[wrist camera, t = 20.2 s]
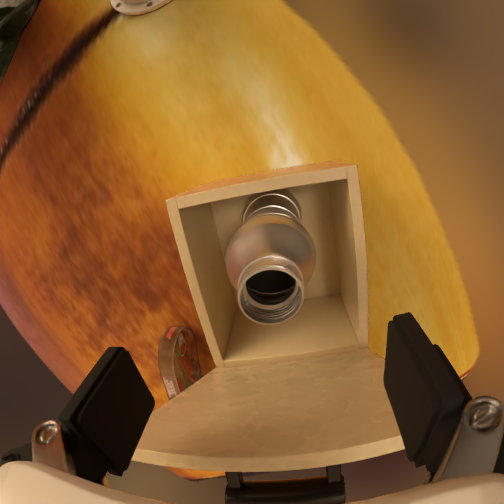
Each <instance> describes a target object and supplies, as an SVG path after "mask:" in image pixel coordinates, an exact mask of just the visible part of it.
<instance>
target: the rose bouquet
mask: <svg viewBox="0 0 504 504" xmlns="http://www.w3.org/2000/svg"><path fill="white" fill-rule="evenodd" d="M37 2H38V0H0V83H1V80H2V78H3V76H4V74H5V71H6V69H7V67H8V65H9V62H10V61H11V58H12V55H13V53H14V50H15V48H16V46H17V43H18V42H19V40H18V39H19V37H20V34H21V32H22V30H23V29H24V27H25V26H26V24H27V23H28V21H29V19H30V18H31V16H32V14H33V12H34V10H35V8H36V6H37Z"/></svg>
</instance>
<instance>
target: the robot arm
mask: <svg viewBox="0 0 504 504" xmlns="http://www.w3.org/2000/svg"><path fill="white" fill-rule="evenodd" d="M170 1H171V0H110V3H111V5H112V7H113V8H114V9H115V10H117V11H118V12H120V13H122V14H125V15H140V14H144V13H148V12H150V11H153V10H156V9H158V8H160V7H162V6H163V5H165V4H167V3H168V2H170ZM383 382H384V387H385V390H386V393H387V396H388V398H389V401H390V404H391V407H392V410H393V413H394V416H395V419H396V422H397V425H398V428H399V431H400V434H401V437H402V440H403V444H404V447H405V450H406V453H407V457H408V459H409V461H414V462H415V466H416V468H417V467H420V466H422V465H426V468H427V471H429V472H430V473H429V475H428V477H427V479H426V480H425V482H424V484H423V485H422V486H418V487H415V488H411V489H407V490H404V491H400V492H396V493H392V494H389V495H384V496H380V497H376V498H372V499H367V500H362V501H357V502H351V503H345V504H504V405H503V404H502V403H501V402H500V401H499V400H498V399H496V398H494V397H491V396H480V397H476V398H474V399H472V397H471V396H470V394H469V392H468V391H467V389H466V388H465V386H464V384H463V382H462V381H461V379H460V378H459V376H458V374H457V373H456V371H455V370H454V368H453V366H452V365H451V363H450V362H449V360H448V359H447V357H446V356H445V354H444V353H443V351H442V350H441V348H440V347H439V346H438V345H436V344H434V345H433V344H432V343H431V341H430V340H429V338H428V337H427V335H426V334H425V332H424V331H423V330H422V328H421V327H420V325H419V324H418V322H417V321H416V319H415V318H414V317H413V315H412V314H411V313H410V312H408V313H404V314H400V315H395V316H394V317H393V321H389V323H388V334H387V347H386V358H385V368H384V376H383ZM154 406H155V400H154V398H153V396H152V394H151V392H150V391H149V389H148V387H147V385H146V384H145V382H144V380H143V378H142V376H141V375H140V373H139V371H138V369H137V367H136V365H135V363H134V361H133V359H132V357H131V355H130V353H129V352H128V351H126V350H125V348H123V347H109V348H108V349H107V350H106V351H105V352H104V354H103V355H102V356H101V358H100V359H99V360H98V362H97V363H96V364H95V366H94V367H93V368H92V370H91V371H90V373H89V374H88V375H87V377H86V378H85V379H84V381H83V382H82V384H81V385H80V386H79V388H78V389H77V390H76V392H75V393H74V395H73V396H72V398H71V399H70V400H69V402H68V403H67V405H66V406H65V408H64V409H63V410H62V412H61V413H60V415H59V416H58V418H59V420H60V421H61V422H62V425H61V426H60V425H59V424H58V423H57V422H56V421H54V420H47V421H44V422H42V423H40V424H39V425H38V426H37V427H36V428H35V429H34V431H33V434H32V442H30V443H28V444H25V445H23V446H20V447H17V448H15V449H12V450H10V451H8V452H6V453H4V454H3V456H2V458H1V461H0V504H175V503H169V502H164V501H159V500H154V499H150V498H145V497H141V496H137V495H133V494H129V493H126V492H122V491H119V490H115V489H112V488H110V485H109V482H108V479H107V476H106V472H107V471H108V472H109V473H110V474H113V475H117V476H122V474H123V472H124V471H125V470H127V468H128V466H129V464H130V461H131V459H132V457H133V454H134V452H135V450H136V447H137V445H138V443H139V440H140V438H141V436H142V433H143V431H144V429H145V427H146V424H147V422H148V420H149V417H150V415H151V413H152V411H153V408H154Z"/></svg>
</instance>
